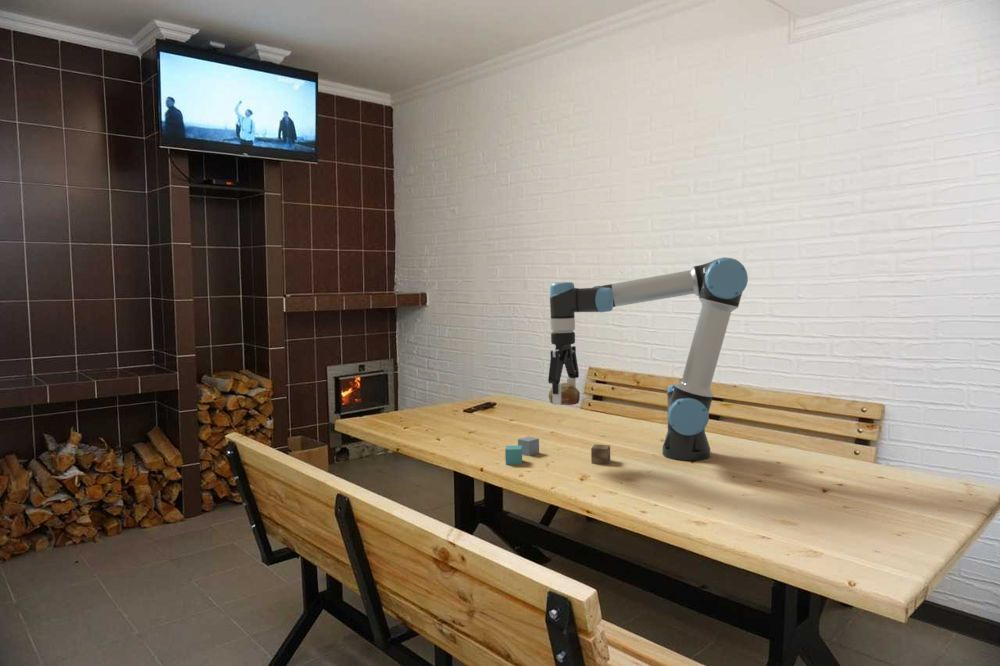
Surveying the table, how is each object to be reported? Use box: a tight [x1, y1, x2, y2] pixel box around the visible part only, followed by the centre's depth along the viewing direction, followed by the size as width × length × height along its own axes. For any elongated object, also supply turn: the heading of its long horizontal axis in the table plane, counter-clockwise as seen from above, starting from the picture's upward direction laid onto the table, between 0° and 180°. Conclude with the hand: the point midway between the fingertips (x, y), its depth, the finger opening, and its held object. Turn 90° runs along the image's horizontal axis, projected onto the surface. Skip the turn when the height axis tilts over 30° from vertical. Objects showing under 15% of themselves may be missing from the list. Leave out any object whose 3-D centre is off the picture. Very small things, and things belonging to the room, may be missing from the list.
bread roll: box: [548, 382, 581, 406], centre depth 223 cm, size 10×10×8 cm
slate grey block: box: [517, 435, 540, 457], centre depth 237 cm, size 5×5×5 cm
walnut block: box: [590, 443, 611, 465], centre depth 224 cm, size 5×5×5 cm
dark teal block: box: [504, 444, 523, 466], centre depth 226 cm, size 5×5×5 cm
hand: (564, 401), depth 223 cm, fingers closed on bread roll, 10 cm apart
